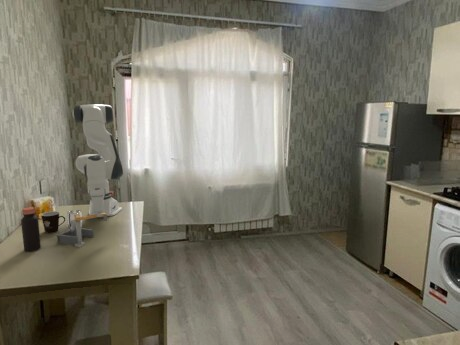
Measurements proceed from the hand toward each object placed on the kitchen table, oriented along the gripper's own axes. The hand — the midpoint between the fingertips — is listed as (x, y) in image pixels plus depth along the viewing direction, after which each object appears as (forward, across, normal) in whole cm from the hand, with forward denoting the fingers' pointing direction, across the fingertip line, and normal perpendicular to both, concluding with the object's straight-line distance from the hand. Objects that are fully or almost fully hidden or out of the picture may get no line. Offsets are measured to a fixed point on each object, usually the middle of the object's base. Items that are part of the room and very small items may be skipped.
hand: (99, 216), depth 157 cm
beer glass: (+14, -8, -12) cm, 20 cm away
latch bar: (+3, -1, -4) cm, 5 cm away
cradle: (+13, -7, -11) cm, 19 cm away
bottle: (+14, -3, -30) cm, 33 cm away
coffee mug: (+13, -26, -24) cm, 37 cm away
